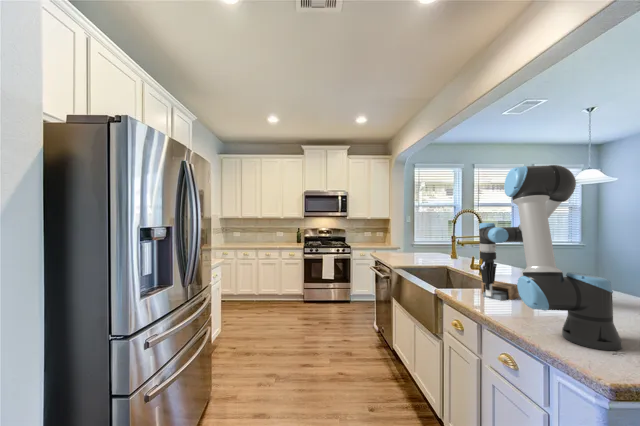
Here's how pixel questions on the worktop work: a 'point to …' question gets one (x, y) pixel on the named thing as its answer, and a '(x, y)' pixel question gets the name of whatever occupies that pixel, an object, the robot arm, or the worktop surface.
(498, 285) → the tan wooden channel
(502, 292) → the tile
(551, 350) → the worktop surface
